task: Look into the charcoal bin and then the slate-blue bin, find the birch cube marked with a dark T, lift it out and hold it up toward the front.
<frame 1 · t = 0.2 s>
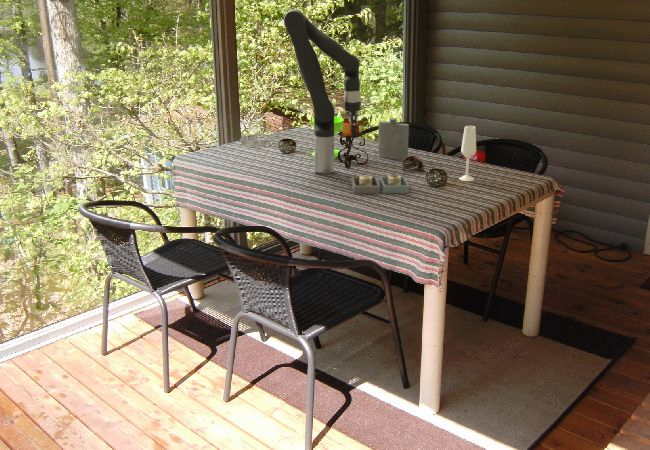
hand: (353, 134, 339), 17 cm above the table, tool pointing down, fingers open, 8 cm apart
pottery mug: (413, 170, 347), on the table
charcoal bin: (365, 189, 318), on the table
slate bin: (394, 189, 318), on the table
letter cube: (394, 188, 318), point 1 cm above the table, touching slate bin
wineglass: (327, 154, 373), on the table
blank cube: (365, 188, 317), point 1 cm above the table, touching charcoal bin
hip flask: (392, 158, 367), on the table
champagne flute: (466, 179, 333), on the table
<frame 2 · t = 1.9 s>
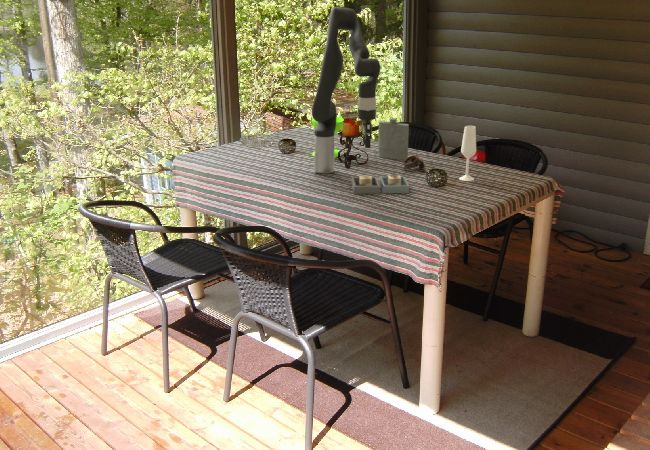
hand: (366, 145, 311), 20 cm above the table, tool pointing down, fingers open, 8 cm apart
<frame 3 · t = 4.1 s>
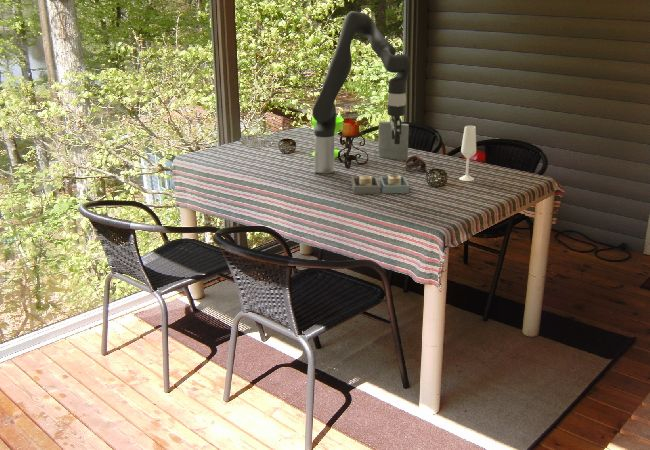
hand: (395, 141, 311), 21 cm above the table, tool pointing down, fingers open, 8 cm apart
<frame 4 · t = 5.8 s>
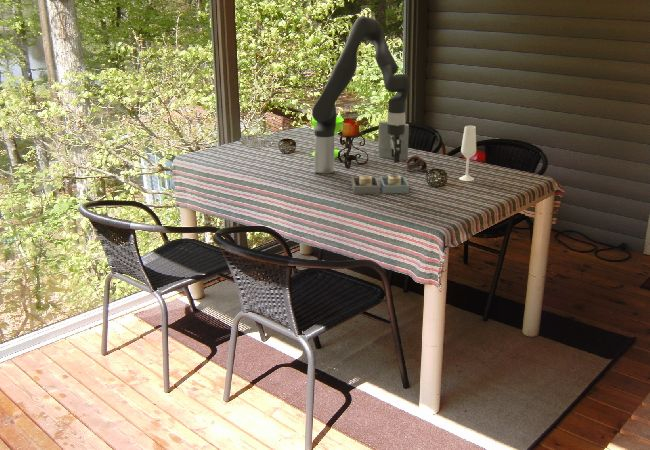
hand: (395, 159, 314), 13 cm above the table, tool pointing down, fingers open, 8 cm apart
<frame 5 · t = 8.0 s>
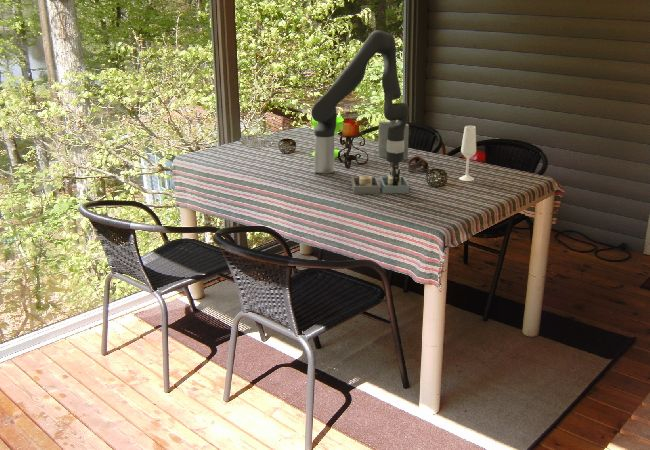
hand: (394, 187, 318), 1 cm above the table, tool pointing down, fingers closed on letter cube, slate bin, 5 cm apart
letter cube: (394, 188, 318), point 1 cm above the table, touching gripper
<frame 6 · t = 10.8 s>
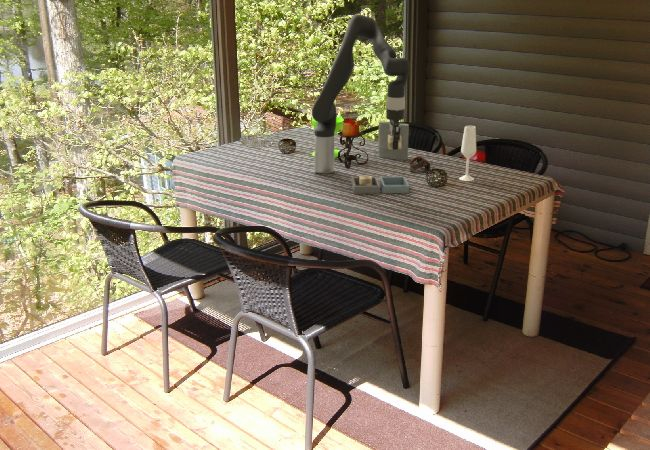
hand: (394, 147, 307), 20 cm above the table, tool pointing down, fingers closed on letter cube, 5 cm apart
letter cube: (394, 147, 307), point 20 cm above the table, touching gripper
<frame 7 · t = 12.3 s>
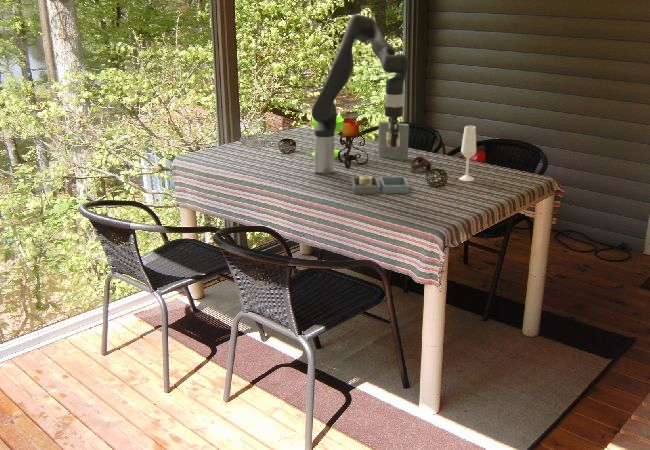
hand: (392, 144, 305), 21 cm above the table, tool pointing down, fingers closed on letter cube, 5 cm apart
letter cube: (392, 145, 305), point 21 cm above the table, touching gripper
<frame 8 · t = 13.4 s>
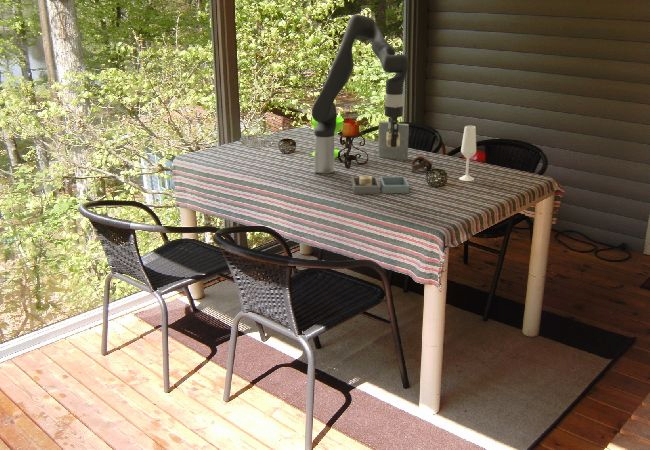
hand: (392, 144, 305), 21 cm above the table, tool pointing down, fingers closed on letter cube, 5 cm apart
letter cube: (392, 145, 305), point 21 cm above the table, touching gripper
at the end: the gripper is holding letter cube; letter cube point 21.2 cm above the table; blank cube moved 0.0 cm from its start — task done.
